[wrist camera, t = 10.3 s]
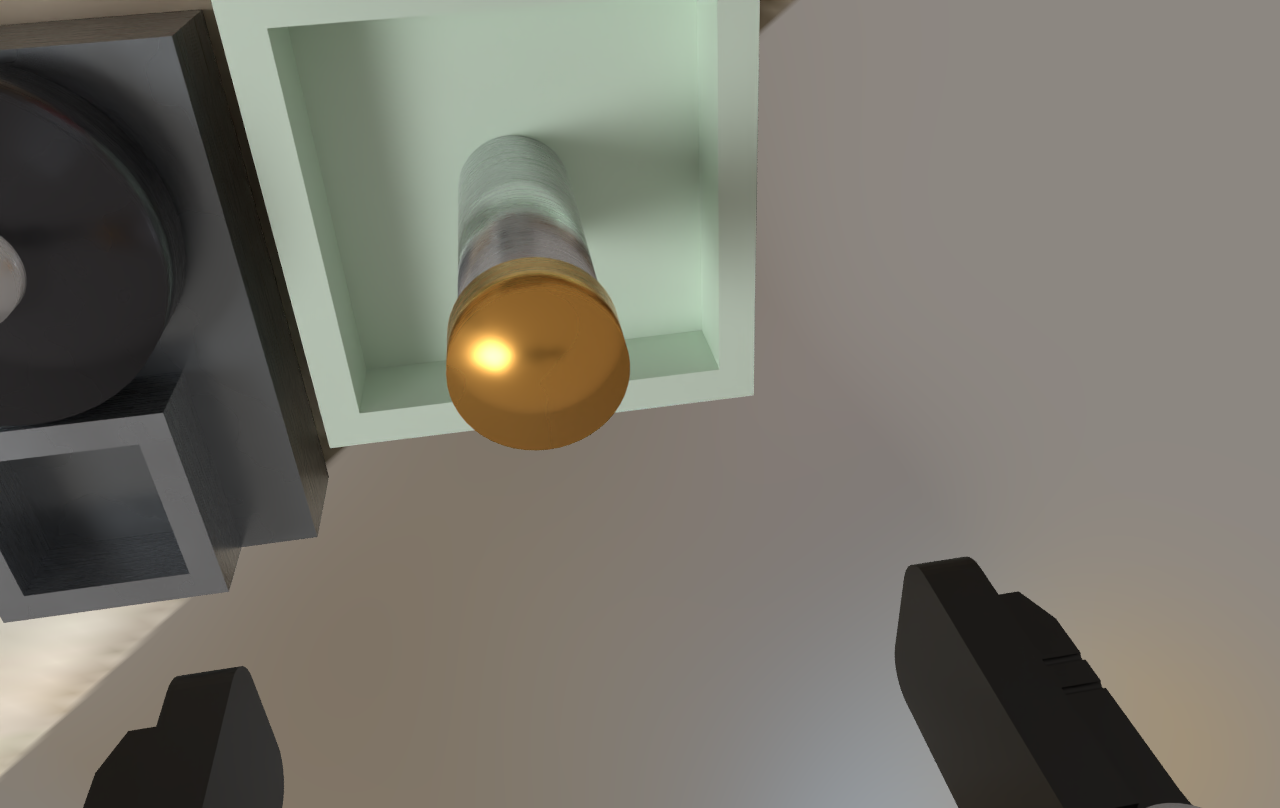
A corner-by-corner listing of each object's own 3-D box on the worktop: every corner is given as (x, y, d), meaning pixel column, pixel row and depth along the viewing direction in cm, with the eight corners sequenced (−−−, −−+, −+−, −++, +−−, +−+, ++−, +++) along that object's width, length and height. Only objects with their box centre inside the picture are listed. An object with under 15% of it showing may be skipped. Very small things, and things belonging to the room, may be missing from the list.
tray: (233, -39, 23) (206, -18, 21) (729, -76, 25) (760, -60, 22) (340, 392, 30) (330, 448, 27) (729, 345, 31) (753, 395, 28)
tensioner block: (-248, 45, 23) (-431, 112, 18) (202, 9, 24) (138, 64, 19) (-4, 519, 30) (-90, 653, 26) (328, 476, 31) (305, 598, 27)
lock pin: (441, 134, 26) (431, 301, 17) (571, 121, 26) (625, 280, 18) (460, 254, 27) (460, 460, 19) (582, 241, 28) (634, 438, 19)
